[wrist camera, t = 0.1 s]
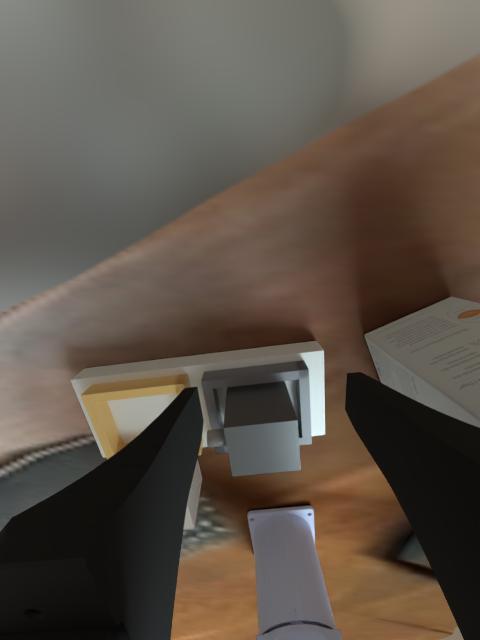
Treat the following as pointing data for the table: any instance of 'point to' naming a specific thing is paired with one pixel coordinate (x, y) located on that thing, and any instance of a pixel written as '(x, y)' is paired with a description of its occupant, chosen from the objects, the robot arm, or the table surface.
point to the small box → (433, 357)
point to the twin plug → (259, 430)
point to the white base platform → (212, 381)
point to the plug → (193, 499)
